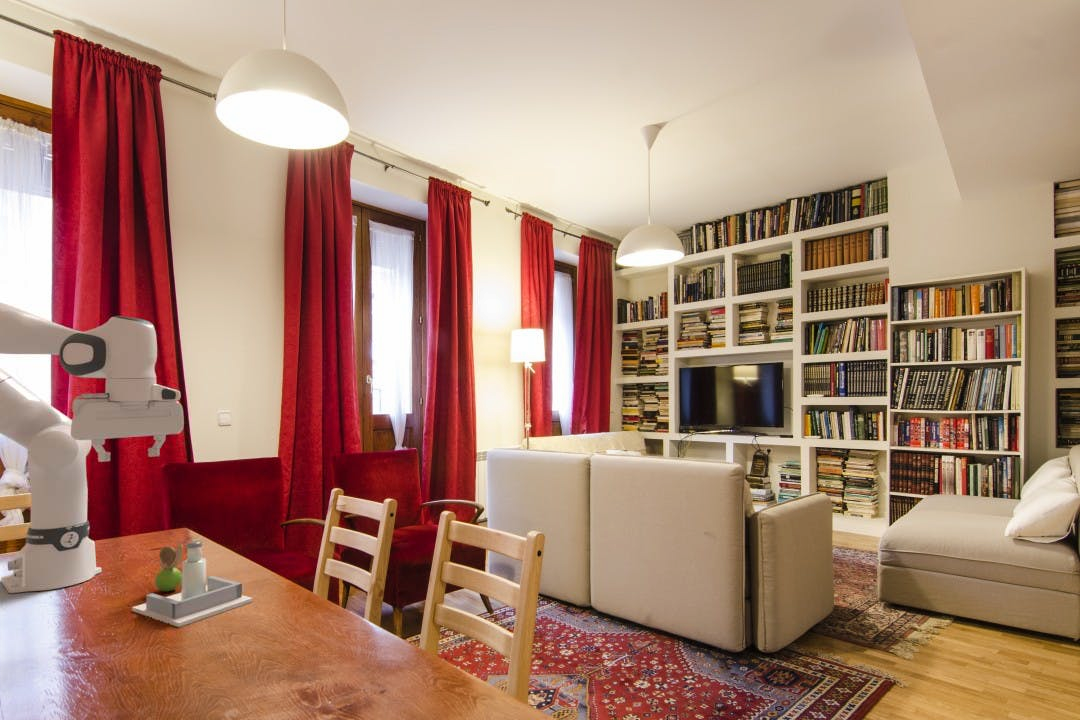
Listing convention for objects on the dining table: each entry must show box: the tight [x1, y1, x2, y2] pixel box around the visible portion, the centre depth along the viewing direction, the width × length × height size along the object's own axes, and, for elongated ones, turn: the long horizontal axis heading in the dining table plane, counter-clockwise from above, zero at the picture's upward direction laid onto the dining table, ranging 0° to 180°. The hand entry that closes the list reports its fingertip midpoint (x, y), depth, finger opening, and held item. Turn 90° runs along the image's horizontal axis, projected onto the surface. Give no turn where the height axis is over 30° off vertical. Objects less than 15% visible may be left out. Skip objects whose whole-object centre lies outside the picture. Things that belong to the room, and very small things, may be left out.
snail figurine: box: [154, 539, 185, 593], centre depth 139 cm, size 5×6×12 cm
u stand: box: [131, 575, 254, 628], centre depth 129 cm, size 18×16×4 cm
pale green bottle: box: [180, 540, 207, 600], centre depth 129 cm, size 5×5×13 cm
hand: (129, 458), depth 124 cm, fingers open, 8 cm apart
